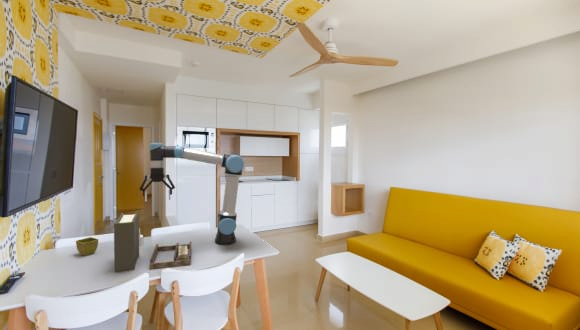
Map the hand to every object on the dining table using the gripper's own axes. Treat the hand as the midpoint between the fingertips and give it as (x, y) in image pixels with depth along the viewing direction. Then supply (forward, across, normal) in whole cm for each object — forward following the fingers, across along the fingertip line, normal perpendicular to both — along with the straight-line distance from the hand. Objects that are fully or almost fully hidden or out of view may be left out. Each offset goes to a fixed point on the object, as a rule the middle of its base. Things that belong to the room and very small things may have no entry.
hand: (158, 200), depth 171 cm
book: (+34, +16, +13) cm, 40 cm away
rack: (+34, -8, +14) cm, 38 cm away
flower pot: (+33, +42, -11) cm, 55 cm away
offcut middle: (+33, -14, +14) cm, 39 cm away
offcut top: (+31, -14, +14) cm, 37 cm away
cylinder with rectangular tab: (+34, +16, -20) cm, 43 cm away
